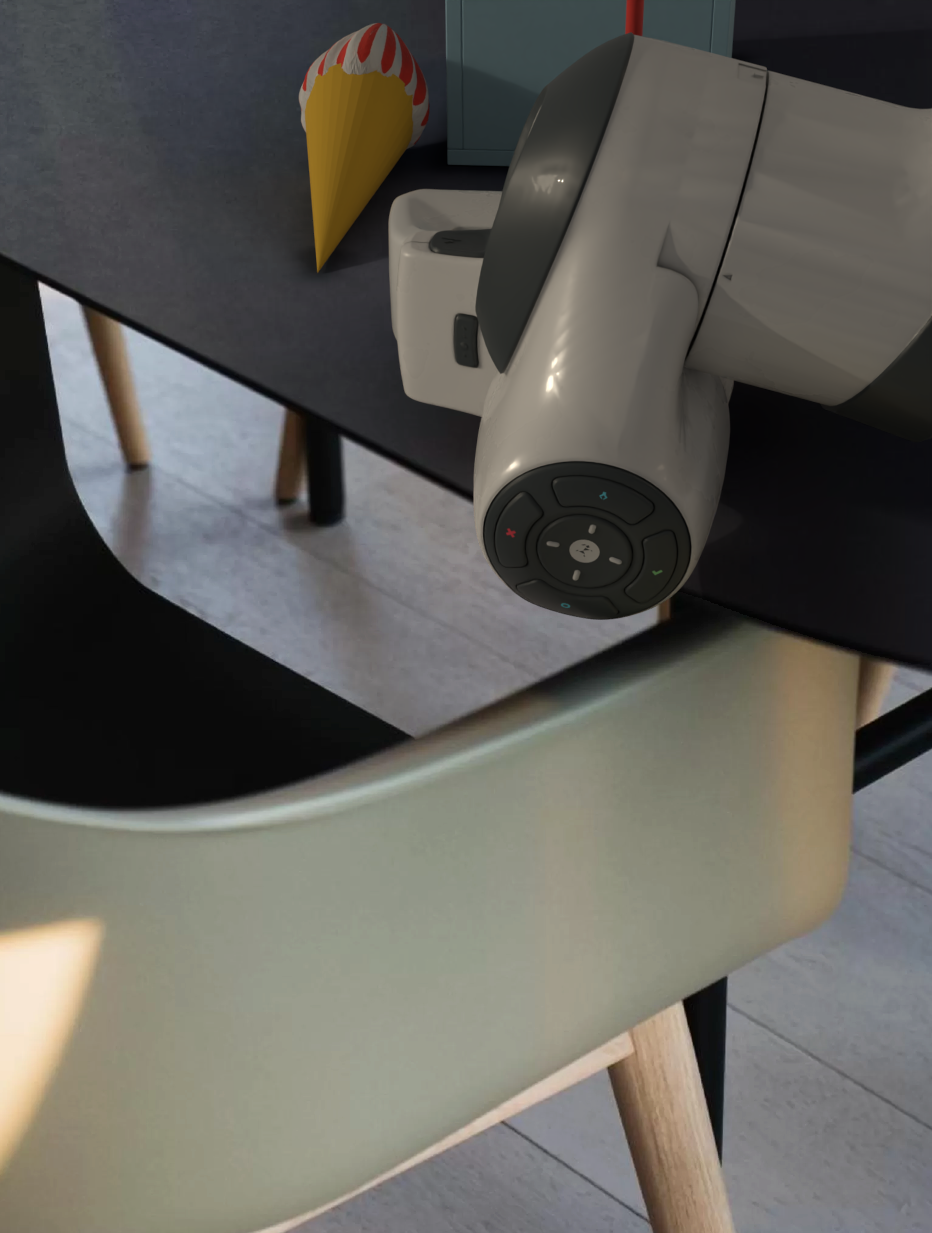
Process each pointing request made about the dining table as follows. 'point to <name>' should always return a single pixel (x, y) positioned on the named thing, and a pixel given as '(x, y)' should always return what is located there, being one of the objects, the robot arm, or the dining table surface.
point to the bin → (544, 58)
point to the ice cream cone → (358, 125)
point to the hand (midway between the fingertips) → (645, 186)
